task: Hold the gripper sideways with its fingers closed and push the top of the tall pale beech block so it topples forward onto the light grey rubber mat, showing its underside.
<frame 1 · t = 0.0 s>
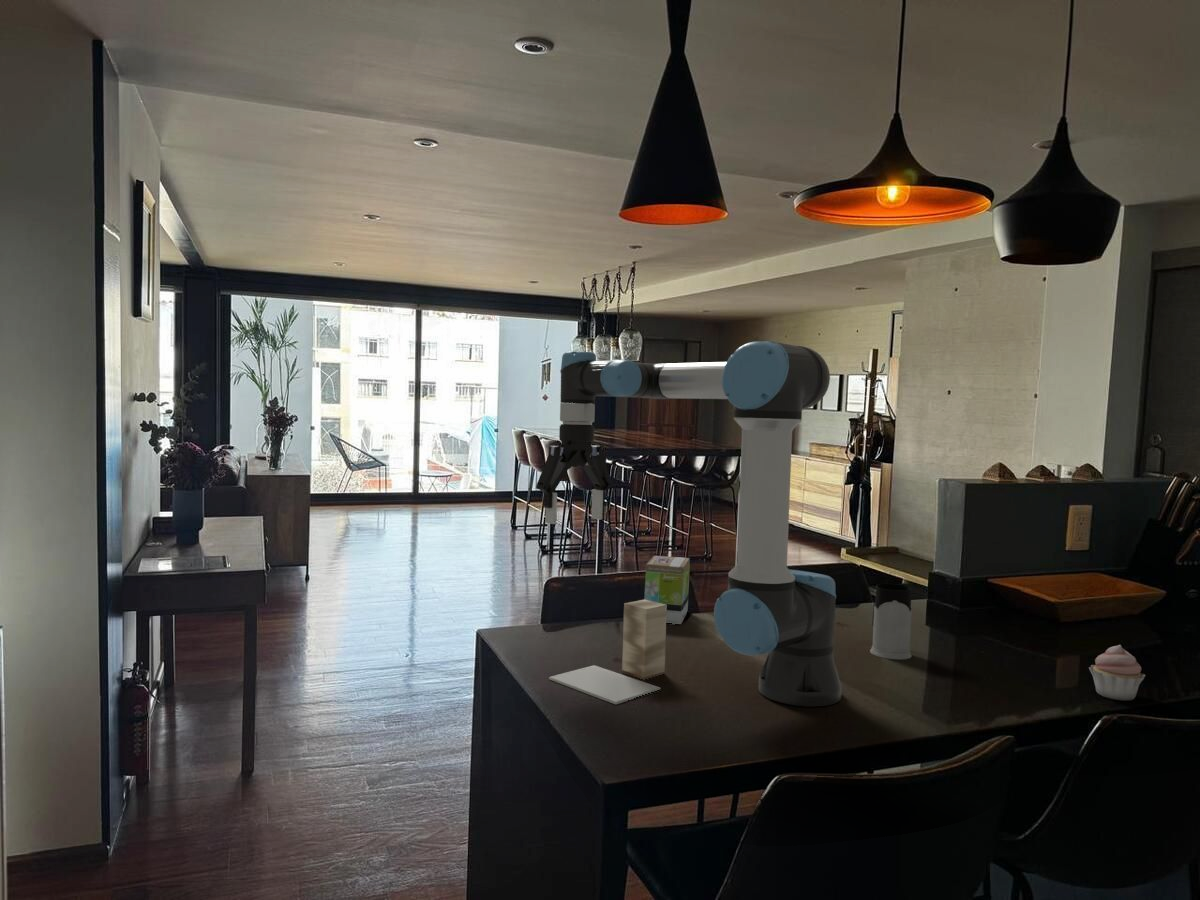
hand: (574, 521, 182), 28 cm above the table, tool pointing down, fingers open, 13 cm apart
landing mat: (604, 684, 159), on the table
tea box: (666, 618, 214), on the table
beech block: (643, 673, 167), on the table
cupcake: (1115, 696, 162), on the table
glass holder: (889, 651, 189), on the table
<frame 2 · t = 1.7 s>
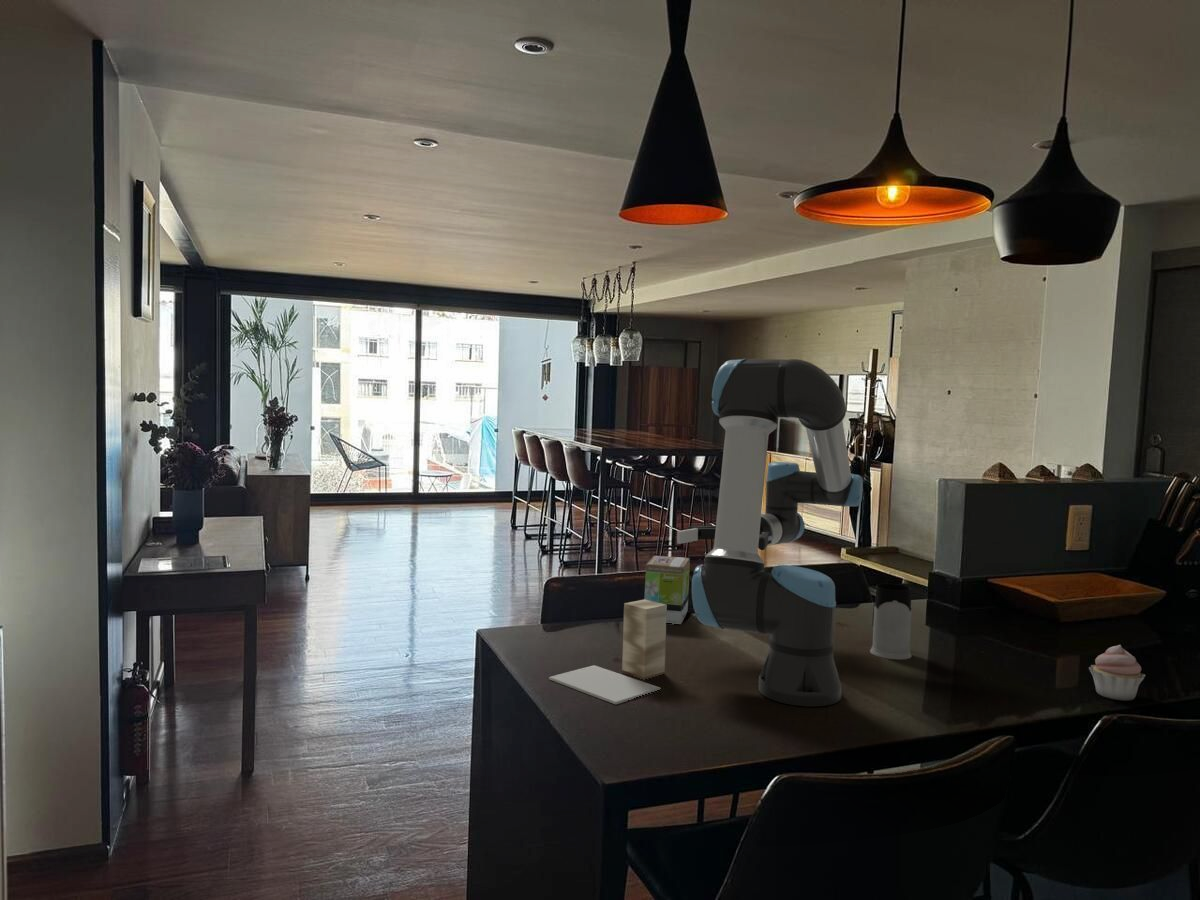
hand: (703, 541, 179), 25 cm above the table, tool horizontal, fingers open, 13 cm apart
nothing on the table moved.
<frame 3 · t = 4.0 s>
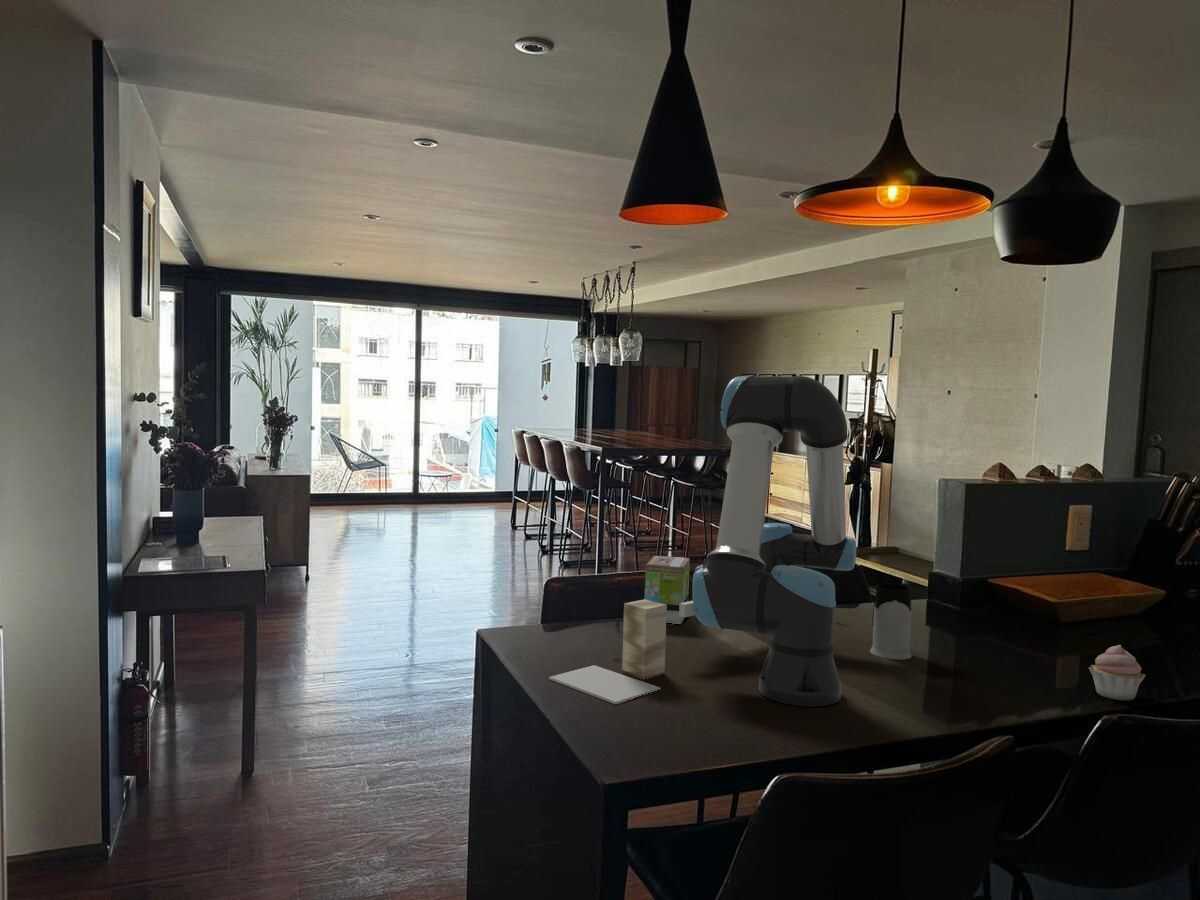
hand: (682, 610, 174), 11 cm above the table, tool horizontal, fingers closed
nothing on the table moved.
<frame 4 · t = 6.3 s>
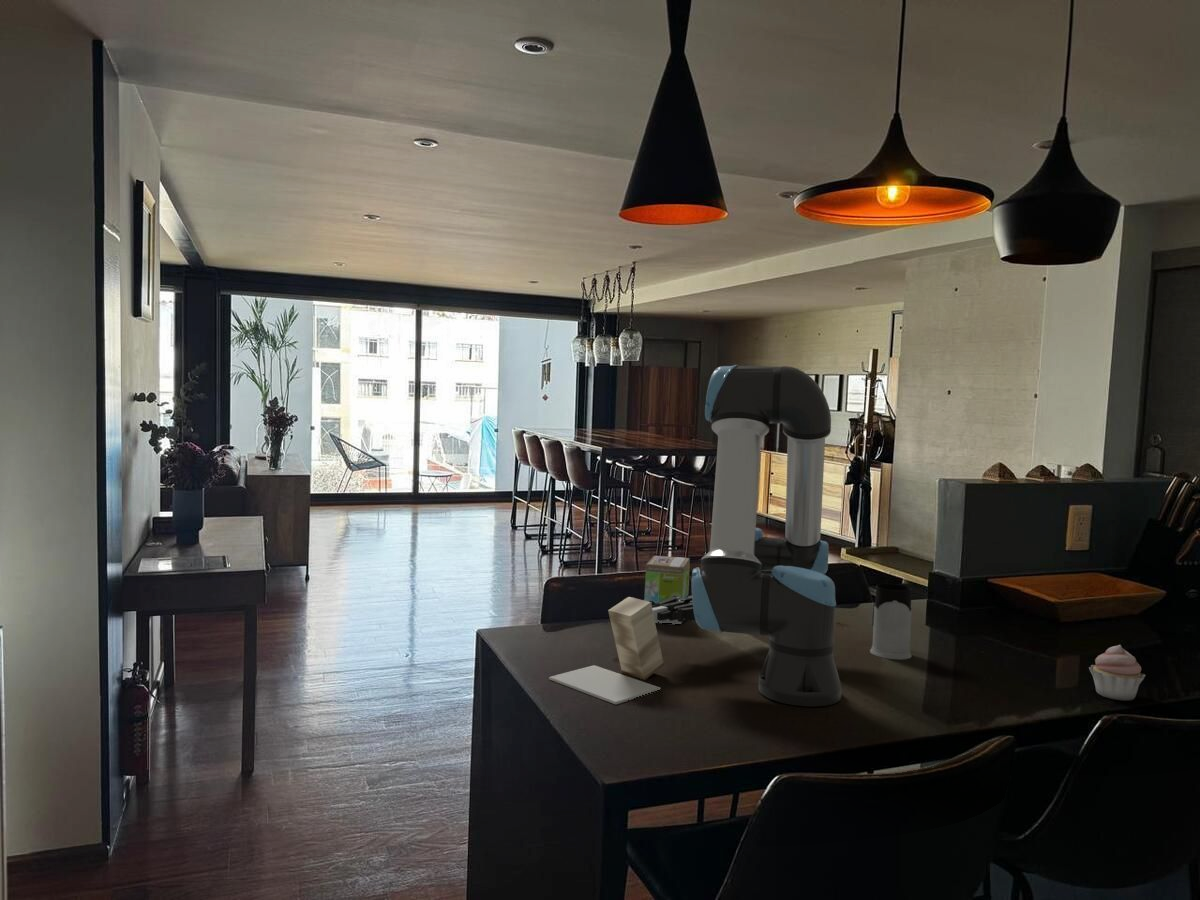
hand: (643, 617, 167), 11 cm above the table, tool horizontal, fingers closed
beech block: (642, 668, 167), point 1 cm above the table, tilted 19°, touching gripper
everything else where it was.
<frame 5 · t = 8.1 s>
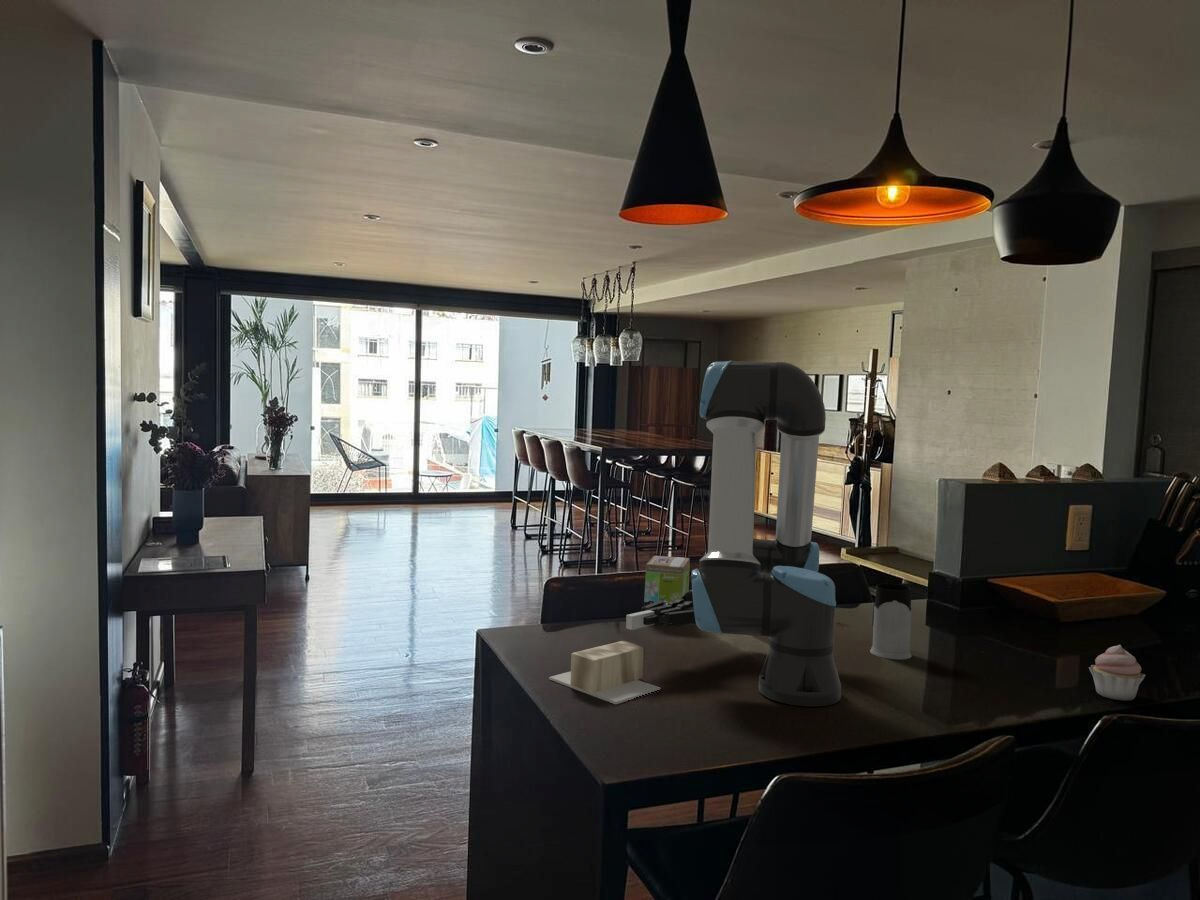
hand: (629, 622, 163), 11 cm above the table, tool horizontal, fingers closed
beech block: (633, 658, 165), point 3 cm above the table, tilted 90°, touching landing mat
everything else where it was.
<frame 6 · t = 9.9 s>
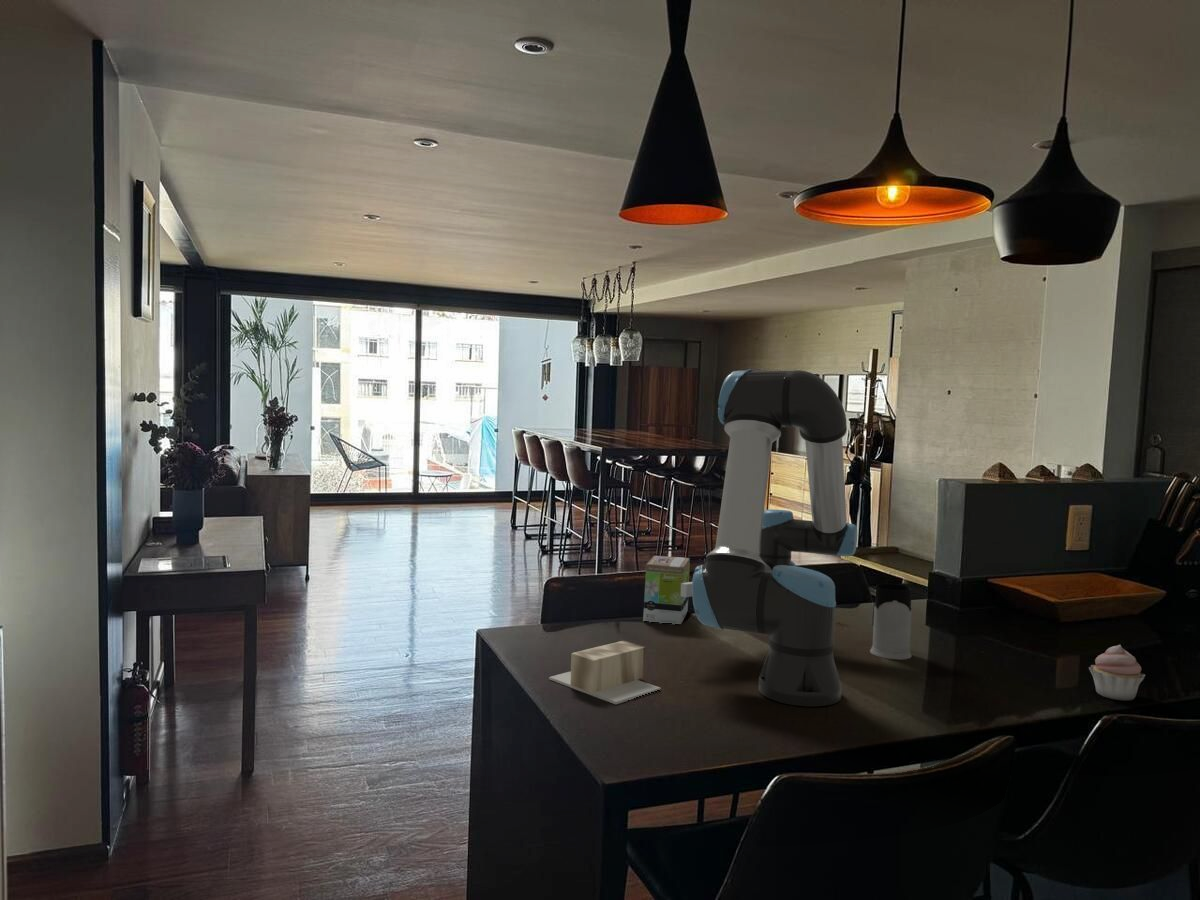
hand: (683, 590, 175), 15 cm above the table, tool horizontal, fingers closed
nothing on the table moved.
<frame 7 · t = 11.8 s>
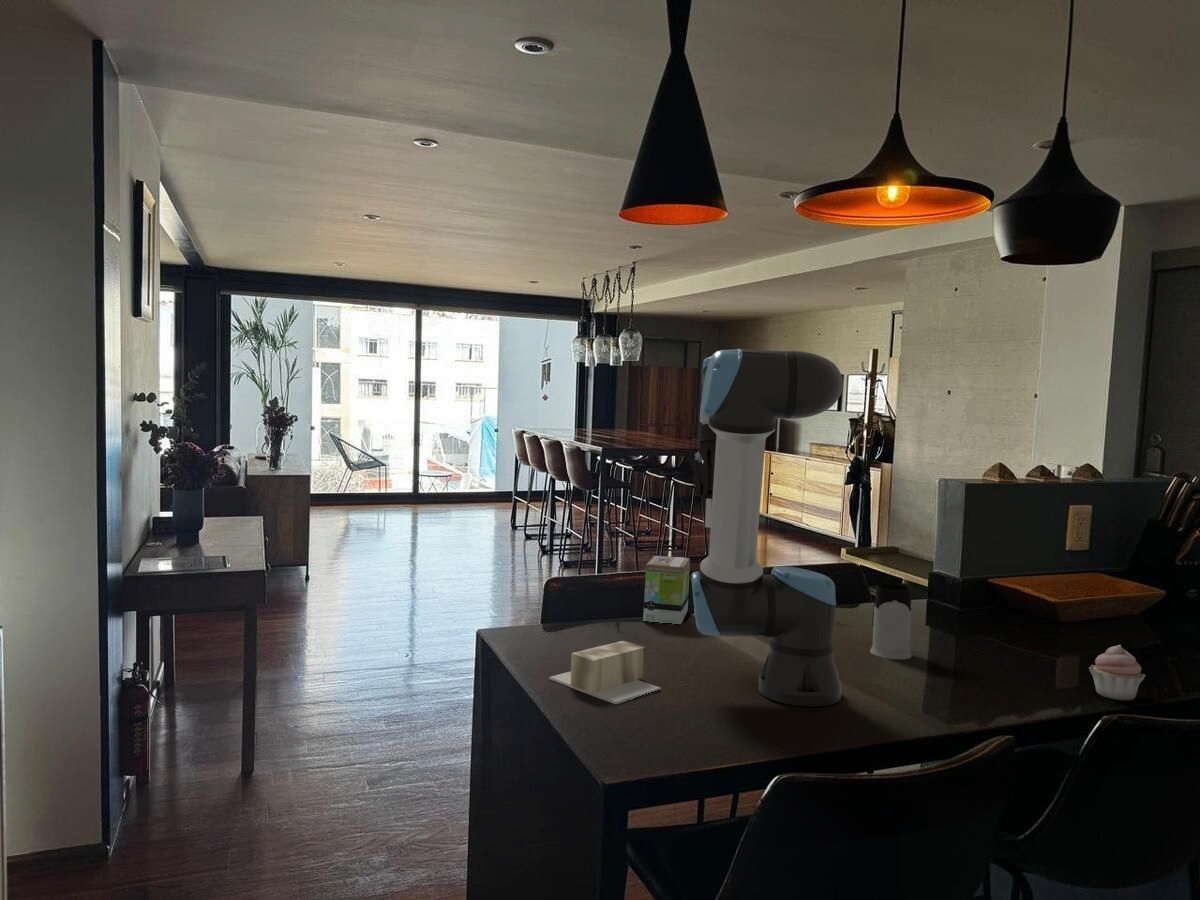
hand: (711, 527, 190), 26 cm above the table, tool pointing down, fingers closed
nothing on the table moved.
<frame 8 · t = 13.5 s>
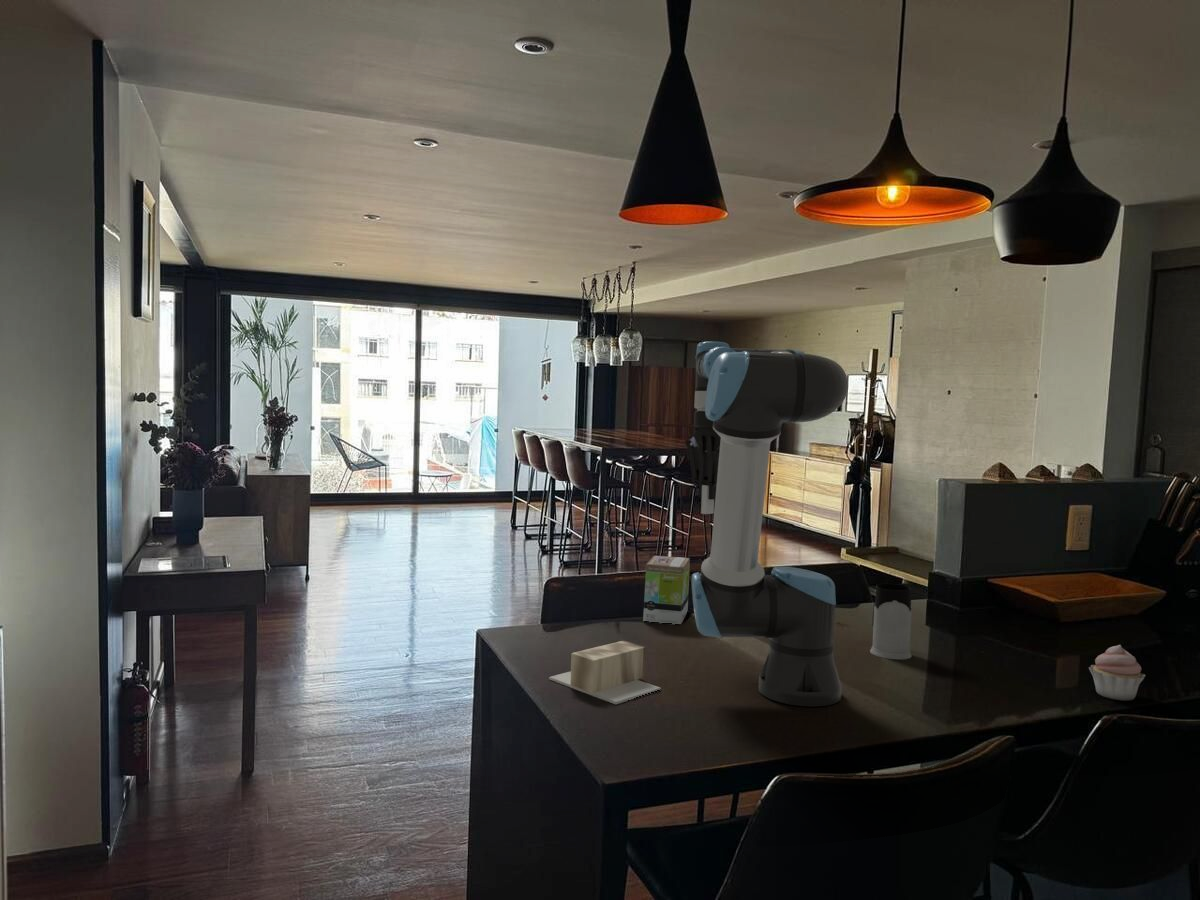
hand: (707, 513, 192), 29 cm above the table, tool pointing down, fingers closed
nothing on the table moved.
at the end: beech block tilted 90°; beech block touching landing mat; beech block inside the target area (1.6 cm from its centre), point 3.5 cm above the table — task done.
